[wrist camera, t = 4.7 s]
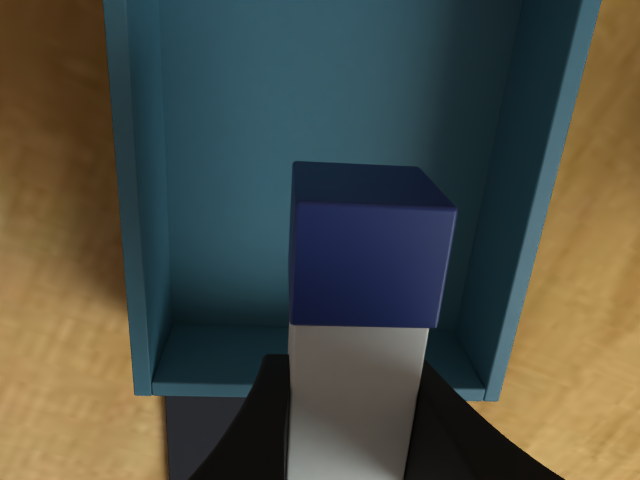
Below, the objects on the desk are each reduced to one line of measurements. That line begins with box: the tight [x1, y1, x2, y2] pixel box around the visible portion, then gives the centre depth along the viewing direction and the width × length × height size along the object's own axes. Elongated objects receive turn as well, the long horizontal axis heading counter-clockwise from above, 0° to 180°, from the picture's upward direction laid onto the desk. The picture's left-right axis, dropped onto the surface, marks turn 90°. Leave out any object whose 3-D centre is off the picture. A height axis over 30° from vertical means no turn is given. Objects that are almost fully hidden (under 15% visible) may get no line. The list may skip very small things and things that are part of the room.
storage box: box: [103, 0, 602, 401], centre depth 17 cm, size 13×16×4 cm
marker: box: [285, 161, 458, 480], centre depth 13 cm, size 12×3×3 cm, turn 176°
